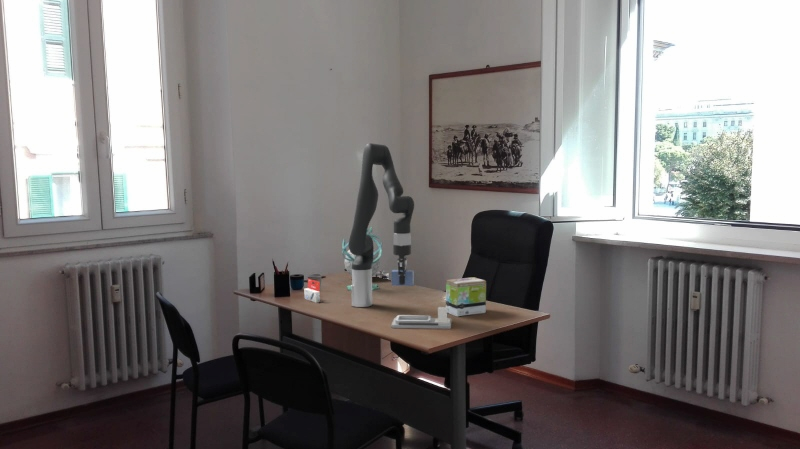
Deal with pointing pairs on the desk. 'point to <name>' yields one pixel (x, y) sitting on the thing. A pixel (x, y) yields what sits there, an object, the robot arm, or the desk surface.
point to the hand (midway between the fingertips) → (402, 283)
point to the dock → (423, 321)
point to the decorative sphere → (349, 263)
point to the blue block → (408, 278)
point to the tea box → (465, 296)
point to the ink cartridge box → (312, 291)
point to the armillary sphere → (374, 286)
